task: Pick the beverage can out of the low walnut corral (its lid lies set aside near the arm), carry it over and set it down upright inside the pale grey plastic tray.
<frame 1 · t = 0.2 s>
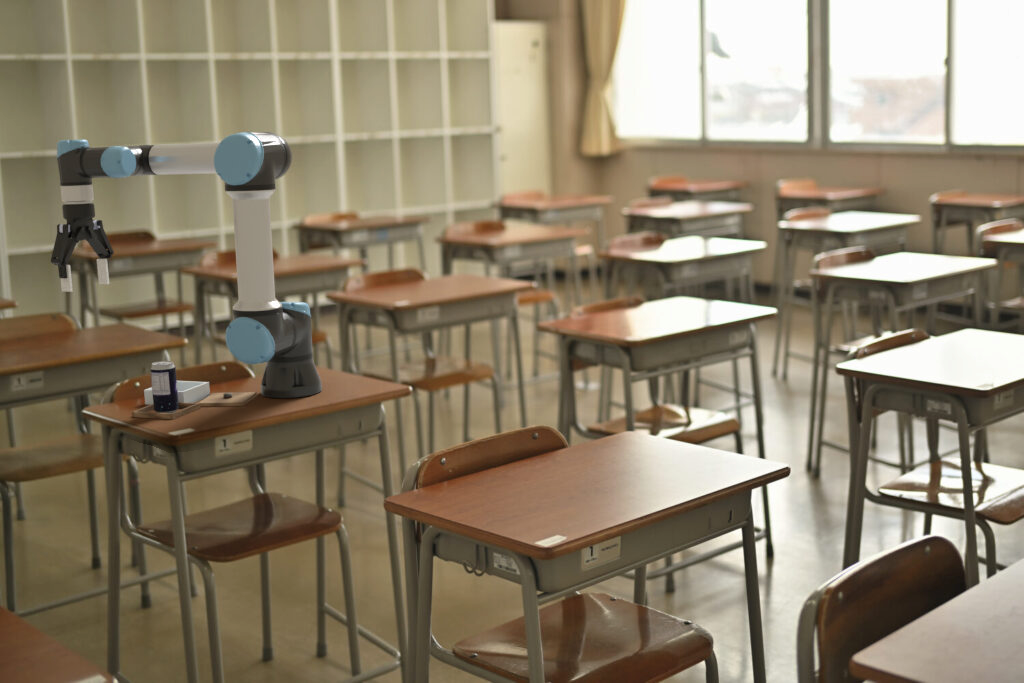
hand: (86, 287, 297), 28 cm above the table, fingers open, 13 cm apart
beverage can: (166, 413, 281), resting in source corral
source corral: (166, 412, 281), on the table
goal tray: (178, 400, 294), on the table
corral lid: (228, 400, 291), on the table
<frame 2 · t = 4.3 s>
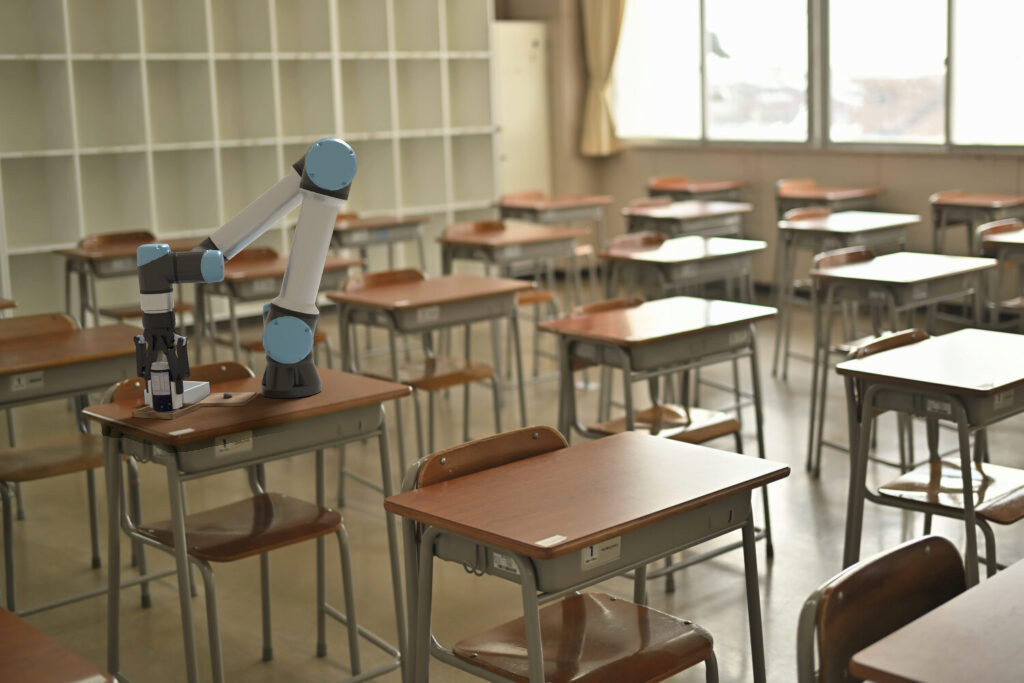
hand: (166, 406, 281), 1 cm above the table, fingers closed on beverage can, 6 cm apart
beverage can: (166, 413, 281), resting in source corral, touching gripper
when the fingers open (3 cm above the table, at t = 9.7 s): beverage can drops 1 cm, resting on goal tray.
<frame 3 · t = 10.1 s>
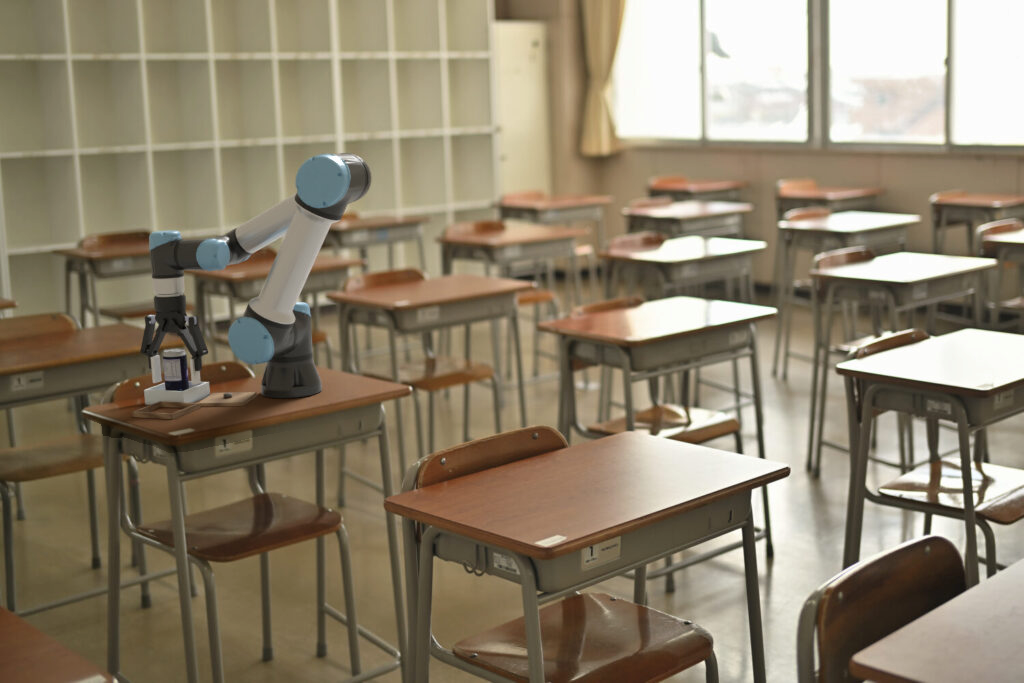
hand: (176, 382, 293), 4 cm above the table, fingers open, 10 cm apart
beverage can: (178, 398, 294), resting on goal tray
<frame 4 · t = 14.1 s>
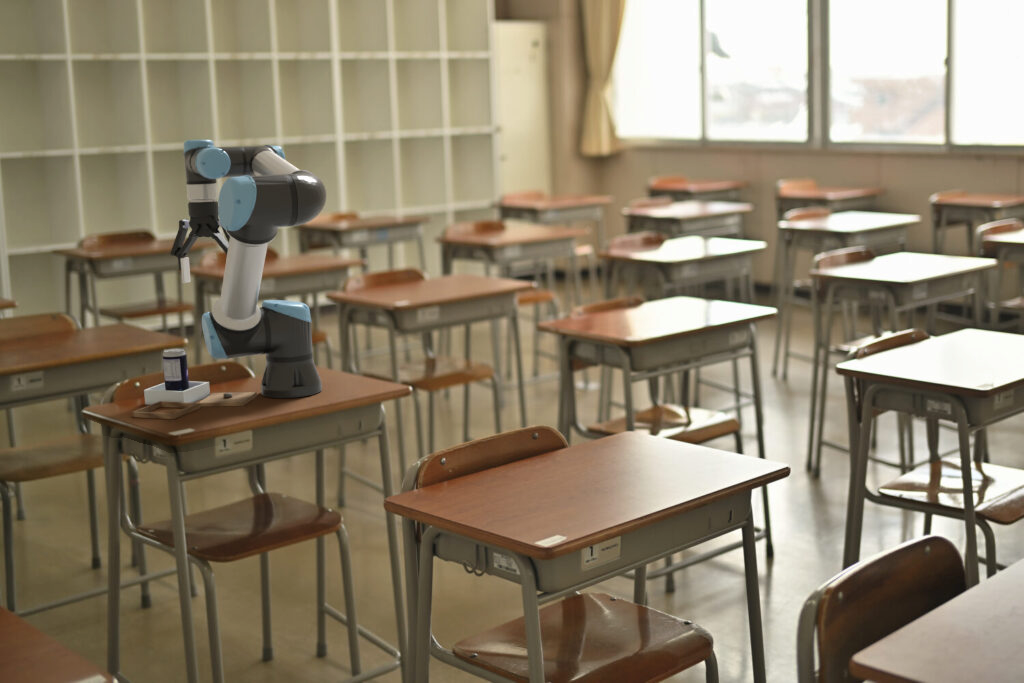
hand: (209, 283, 307), 27 cm above the table, fingers open, 13 cm apart
nothing on the table moved.
at the end: beverage can inside the target area on the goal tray (0.1 cm from its centre), point 0.4 cm above the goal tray's base; beverage can tilted 0°; the gripper is holding nothing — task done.
